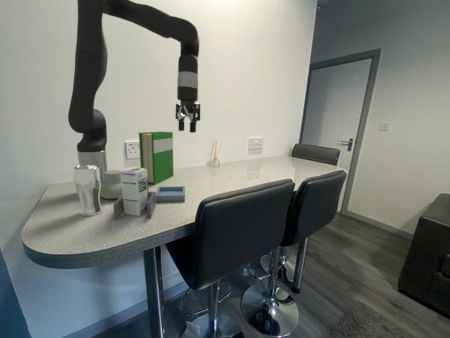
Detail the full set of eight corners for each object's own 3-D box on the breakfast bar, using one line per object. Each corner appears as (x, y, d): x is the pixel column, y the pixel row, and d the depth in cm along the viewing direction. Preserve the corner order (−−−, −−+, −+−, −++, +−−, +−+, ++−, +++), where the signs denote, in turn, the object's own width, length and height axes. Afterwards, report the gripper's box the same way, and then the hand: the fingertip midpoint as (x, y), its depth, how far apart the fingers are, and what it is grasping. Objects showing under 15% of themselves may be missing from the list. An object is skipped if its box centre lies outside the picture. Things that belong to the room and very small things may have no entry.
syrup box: (140, 216, 63) (137, 171, 60) (123, 214, 65) (120, 170, 61) (150, 209, 69) (148, 168, 66) (134, 207, 70) (132, 166, 67)
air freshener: (94, 197, 76) (91, 172, 74) (112, 191, 84) (111, 168, 82) (116, 202, 73) (114, 176, 71) (133, 195, 81) (132, 171, 78)
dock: (114, 219, 61) (113, 204, 60) (124, 205, 71) (123, 192, 70) (151, 217, 63) (150, 203, 62) (155, 204, 73) (155, 191, 72)
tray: (154, 202, 75) (154, 195, 74) (158, 192, 85) (158, 186, 85) (184, 201, 77) (184, 195, 76) (184, 191, 87) (184, 186, 87)
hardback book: (155, 184, 95) (153, 133, 90) (141, 183, 97) (138, 132, 92) (173, 175, 112) (172, 132, 107) (161, 174, 114) (160, 131, 108)
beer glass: (99, 205, 70) (95, 163, 66) (107, 211, 66) (103, 167, 62) (75, 212, 64) (69, 166, 61) (83, 219, 60) (76, 170, 57)
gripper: (169, 87, 77) (169, 130, 80) (188, 83, 66) (187, 133, 70) (186, 90, 82) (185, 130, 85) (207, 87, 71) (205, 133, 75)
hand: (186, 131), depth 78 cm, fingers open, 8 cm apart
